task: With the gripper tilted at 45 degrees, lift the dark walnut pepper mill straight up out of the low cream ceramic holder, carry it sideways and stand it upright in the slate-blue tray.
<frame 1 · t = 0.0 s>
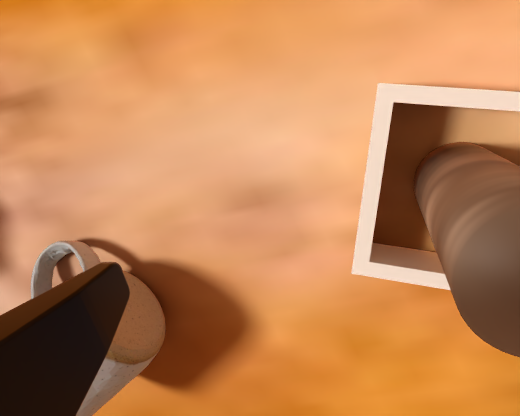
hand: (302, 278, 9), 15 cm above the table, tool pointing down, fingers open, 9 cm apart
ceramic mug: (108, 300, 31), on the table
holder: (457, 183, 22), on the table
pepper mill: (457, 183, 22), resting in holder
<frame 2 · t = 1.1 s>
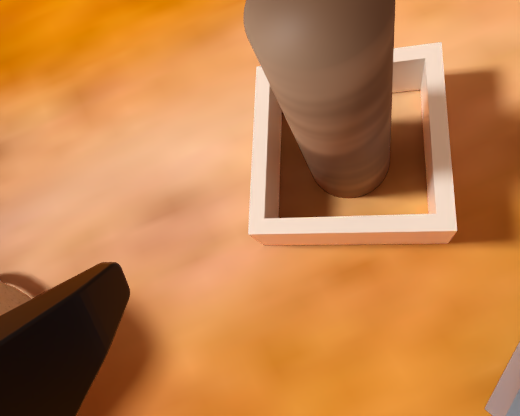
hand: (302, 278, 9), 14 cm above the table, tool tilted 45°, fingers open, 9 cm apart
ceramic mug: (4, 349, 27), on the table
holder: (349, 160, 24), on the table
pepper mill: (349, 160, 24), resting in holder
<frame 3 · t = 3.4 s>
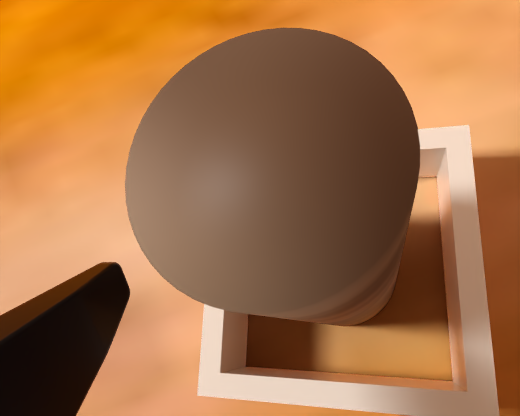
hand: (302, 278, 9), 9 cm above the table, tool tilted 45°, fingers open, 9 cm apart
holder: (341, 271, 18), on the table
pepper mill: (341, 271, 18), resting in holder
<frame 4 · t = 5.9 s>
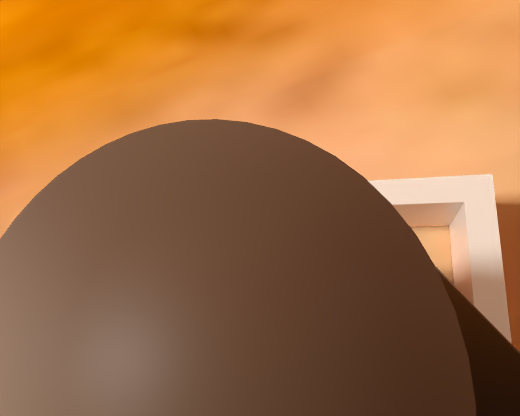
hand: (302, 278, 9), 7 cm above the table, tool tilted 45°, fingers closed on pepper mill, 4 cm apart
holder: (335, 338, 15), on the table
pepper mill: (335, 338, 15), resting in holder, touching gripper
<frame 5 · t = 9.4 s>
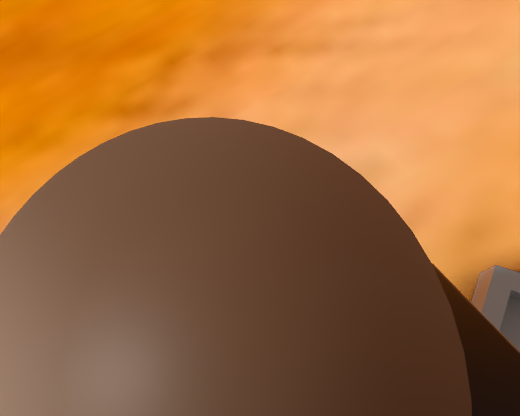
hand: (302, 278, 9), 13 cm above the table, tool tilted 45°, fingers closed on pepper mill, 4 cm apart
pepper mill: (335, 337, 15), point 7 cm above the table, touching gripper
when the fingers open (9 cm above the table, at t = 13.3 s): pepper mill stays where it is, resting on tray.
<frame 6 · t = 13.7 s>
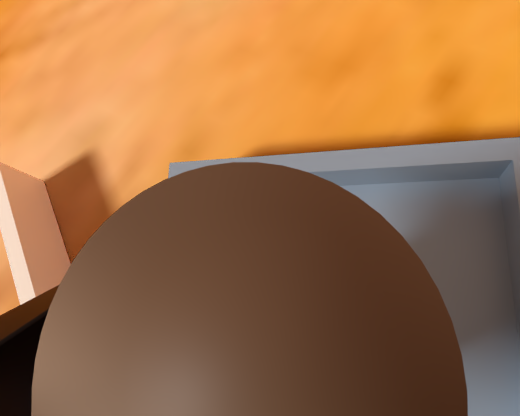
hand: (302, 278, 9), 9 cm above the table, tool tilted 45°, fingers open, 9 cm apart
tray: (341, 337, 17), on the table
pepper mill: (338, 339, 16), point 1 cm above the table, touching tray
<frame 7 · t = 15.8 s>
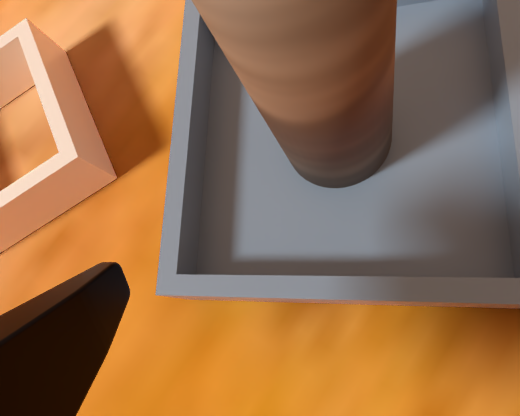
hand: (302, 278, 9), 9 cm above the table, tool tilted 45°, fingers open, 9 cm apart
holder: (22, 155, 24), on the table
tray: (340, 148, 19), on the table
pepper mill: (337, 138, 18), point 1 cm above the table, touching tray
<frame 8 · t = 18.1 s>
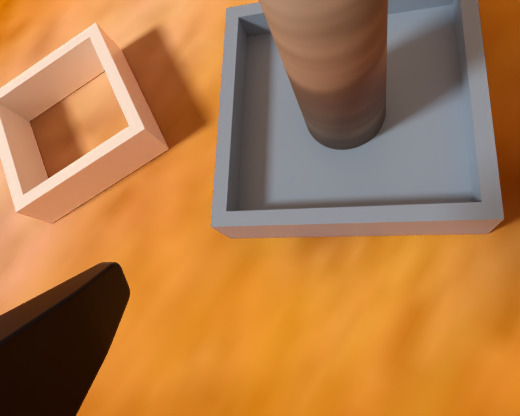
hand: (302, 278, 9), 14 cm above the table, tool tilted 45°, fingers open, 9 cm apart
holder: (88, 133, 30), on the table
tray: (346, 122, 24), on the table
pepper mill: (344, 113, 23), point 1 cm above the table, touching tray
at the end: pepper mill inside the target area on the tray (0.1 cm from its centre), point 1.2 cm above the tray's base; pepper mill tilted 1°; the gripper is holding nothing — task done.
